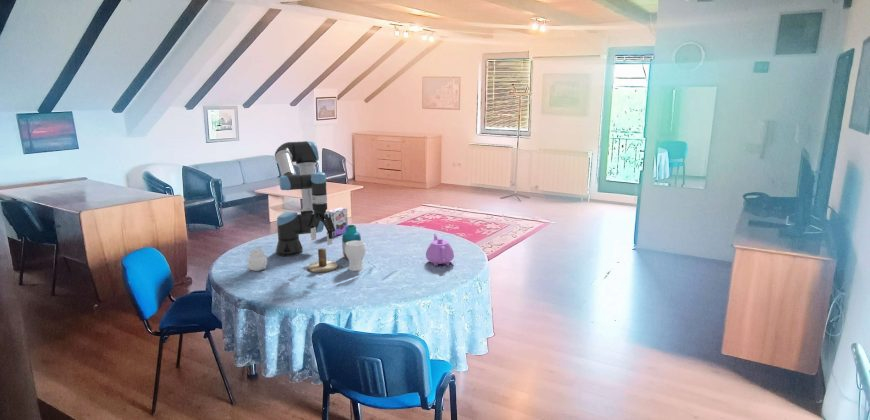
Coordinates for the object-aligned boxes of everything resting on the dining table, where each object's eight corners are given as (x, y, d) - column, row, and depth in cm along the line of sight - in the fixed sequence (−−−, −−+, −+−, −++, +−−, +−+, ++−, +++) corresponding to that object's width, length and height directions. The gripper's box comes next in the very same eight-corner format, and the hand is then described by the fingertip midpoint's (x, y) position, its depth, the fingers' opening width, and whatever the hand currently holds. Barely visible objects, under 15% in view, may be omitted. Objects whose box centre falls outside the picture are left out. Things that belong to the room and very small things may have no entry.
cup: (364, 273, 278) (363, 246, 275) (344, 273, 279) (343, 246, 275) (367, 266, 289) (366, 240, 285) (347, 266, 289) (346, 240, 285)
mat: (301, 269, 284) (301, 268, 283) (325, 262, 295) (325, 260, 295) (320, 276, 274) (319, 275, 273) (344, 268, 285) (344, 267, 285)
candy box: (333, 236, 344) (332, 212, 340) (327, 235, 347) (325, 210, 343) (348, 232, 355) (347, 208, 351) (341, 230, 358) (340, 206, 354)
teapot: (421, 257, 305) (421, 233, 302) (447, 255, 309) (448, 232, 305) (430, 269, 284) (430, 245, 281) (458, 267, 288) (458, 243, 285)
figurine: (272, 268, 286) (270, 246, 284) (260, 274, 277) (259, 252, 275) (256, 266, 290) (254, 244, 287) (244, 271, 281) (243, 250, 278)
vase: (357, 262, 296) (356, 229, 291) (339, 260, 298) (338, 227, 293) (364, 256, 306) (363, 224, 301) (346, 255, 308) (345, 223, 304)
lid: (302, 268, 284) (301, 249, 281) (325, 261, 295) (324, 243, 292) (320, 274, 274) (319, 255, 272) (342, 267, 285) (342, 248, 283)
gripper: (299, 200, 281) (301, 239, 286) (329, 207, 265) (330, 248, 270) (311, 198, 287) (313, 236, 291) (340, 204, 271) (342, 244, 275)
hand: (321, 242), depth 281 cm, fingers open, 13 cm apart
